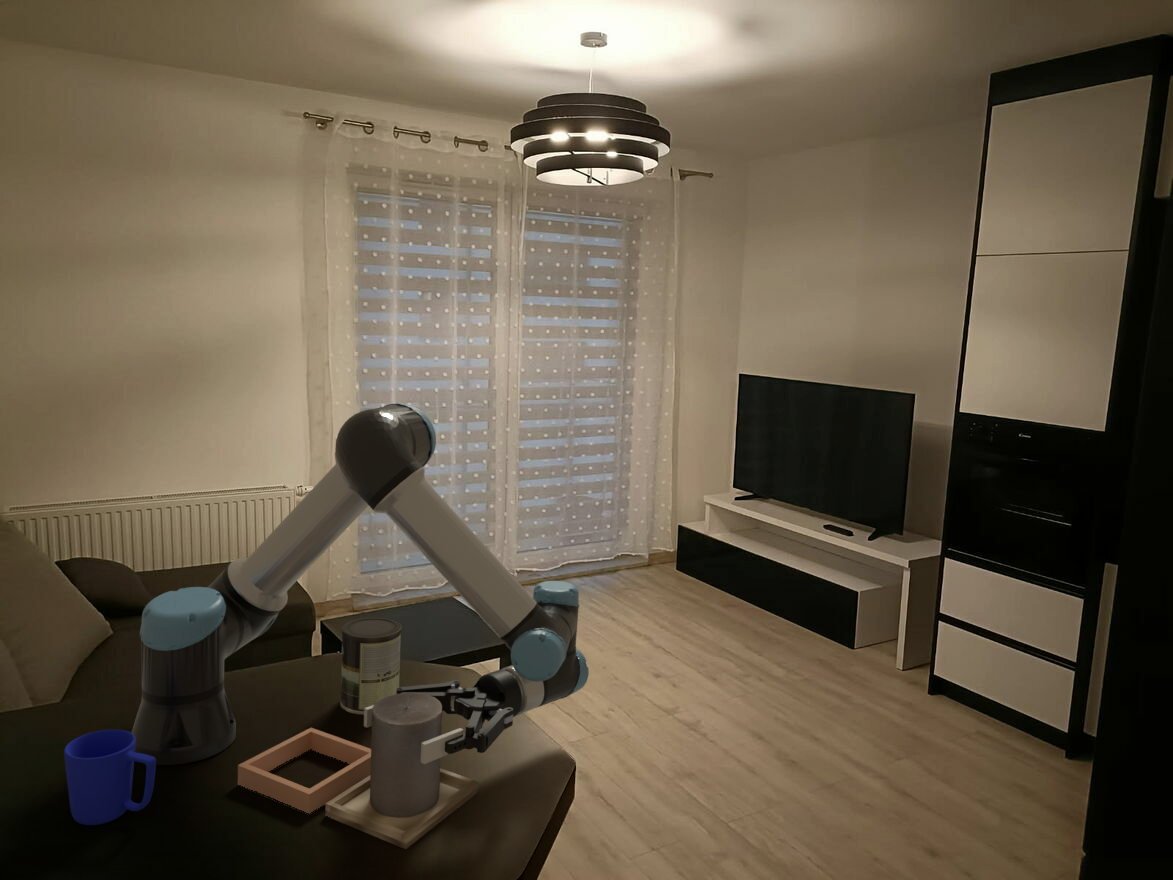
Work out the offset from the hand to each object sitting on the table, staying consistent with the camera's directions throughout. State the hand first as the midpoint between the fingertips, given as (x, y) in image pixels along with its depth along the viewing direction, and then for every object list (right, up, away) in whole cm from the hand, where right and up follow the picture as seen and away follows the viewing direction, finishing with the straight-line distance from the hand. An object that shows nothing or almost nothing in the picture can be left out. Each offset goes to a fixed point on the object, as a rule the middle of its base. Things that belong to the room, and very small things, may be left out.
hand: (392, 735), depth 115 cm
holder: (-14, -9, +9) cm, 19 cm away
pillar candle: (+1, -10, +3) cm, 11 cm away
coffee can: (-12, -7, +34) cm, 37 cm away
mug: (-36, -10, -4) cm, 38 cm away
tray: (+1, -11, +3) cm, 11 cm away
